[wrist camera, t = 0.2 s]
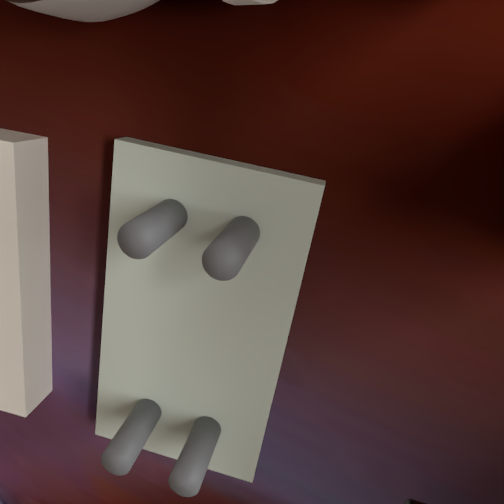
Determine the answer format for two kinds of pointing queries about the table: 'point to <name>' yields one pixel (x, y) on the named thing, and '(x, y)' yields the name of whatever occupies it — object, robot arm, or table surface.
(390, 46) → the table surface
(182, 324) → the peg stand
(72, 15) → the spread jar
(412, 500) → the robot arm
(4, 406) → the shelf board
